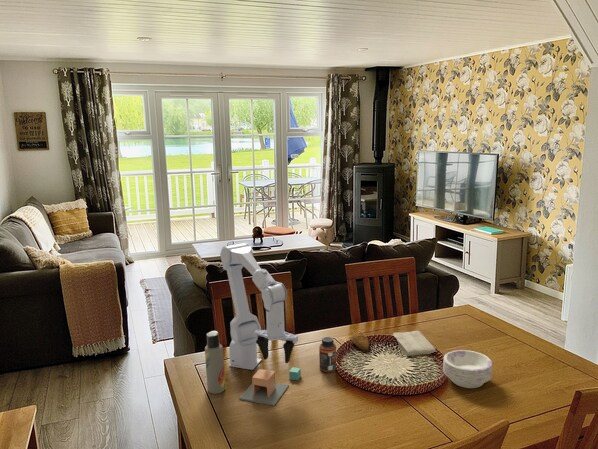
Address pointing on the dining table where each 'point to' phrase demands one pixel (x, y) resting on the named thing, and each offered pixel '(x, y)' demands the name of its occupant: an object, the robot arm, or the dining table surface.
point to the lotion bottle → (214, 363)
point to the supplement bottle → (327, 355)
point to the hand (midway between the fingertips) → (276, 360)
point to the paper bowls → (467, 368)
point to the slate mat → (264, 394)
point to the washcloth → (413, 343)
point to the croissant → (360, 341)
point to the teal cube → (295, 373)
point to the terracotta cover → (264, 381)
